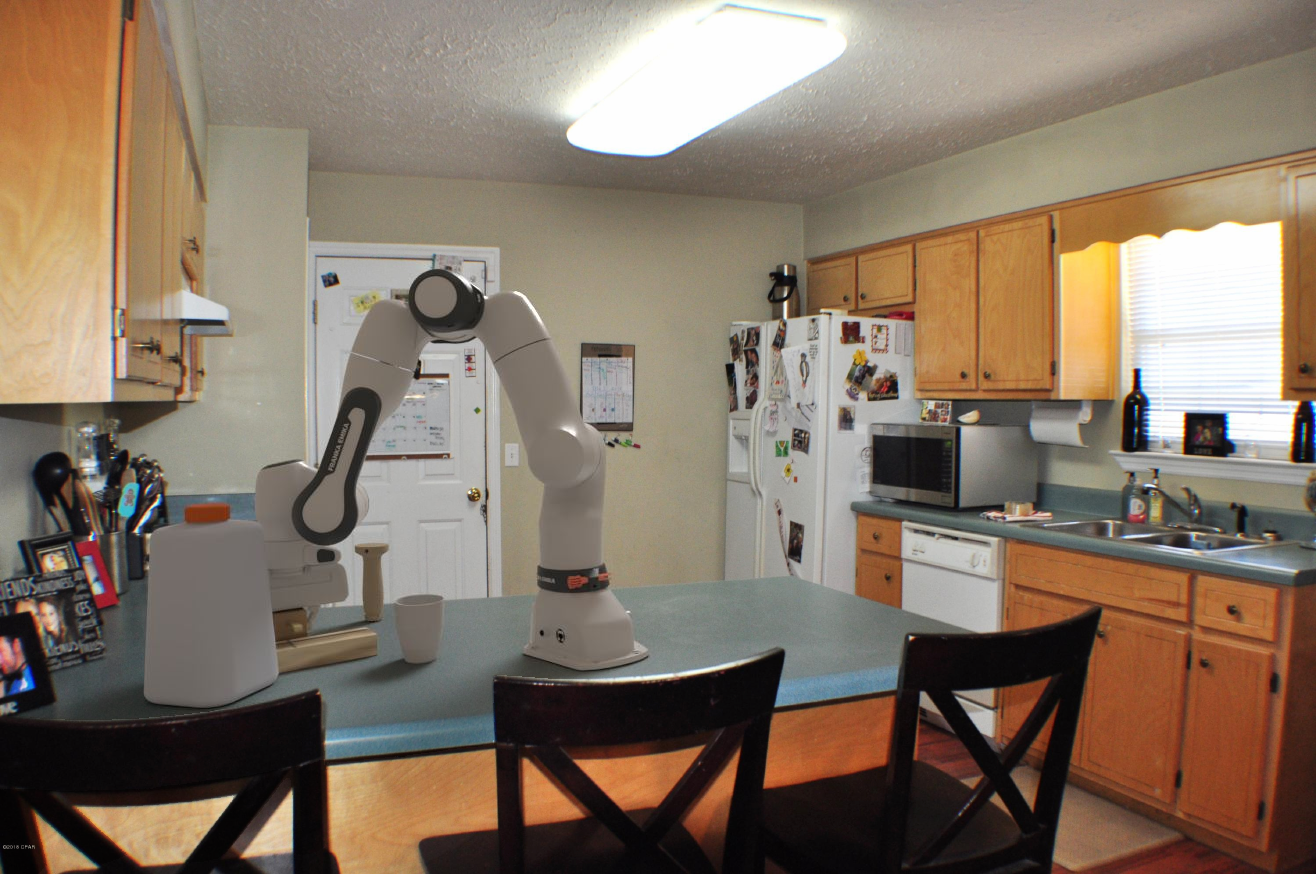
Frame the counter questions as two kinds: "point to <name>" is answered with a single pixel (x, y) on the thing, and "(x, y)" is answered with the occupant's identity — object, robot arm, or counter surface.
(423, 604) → the cup
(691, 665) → the counter surface
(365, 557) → the handle
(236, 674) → the plastic bottle
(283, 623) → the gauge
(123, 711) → the counter surface
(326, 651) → the board
